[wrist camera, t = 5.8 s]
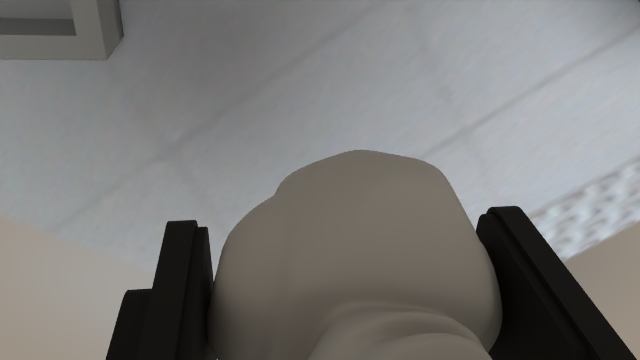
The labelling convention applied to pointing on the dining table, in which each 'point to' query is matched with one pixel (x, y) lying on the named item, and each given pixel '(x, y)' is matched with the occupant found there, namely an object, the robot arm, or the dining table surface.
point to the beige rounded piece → (356, 269)
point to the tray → (59, 29)
